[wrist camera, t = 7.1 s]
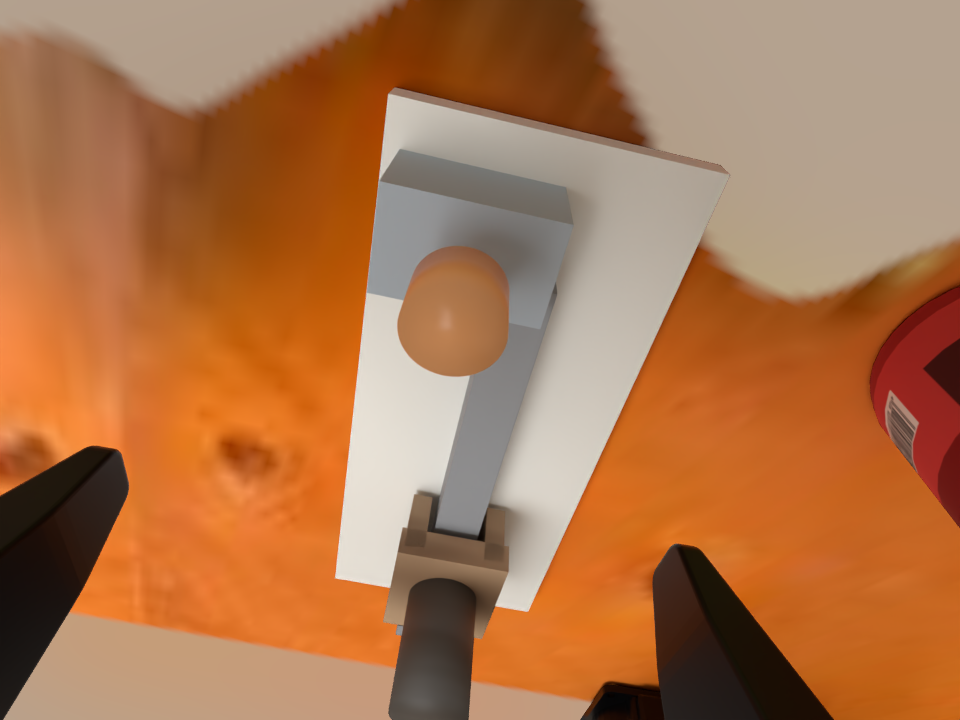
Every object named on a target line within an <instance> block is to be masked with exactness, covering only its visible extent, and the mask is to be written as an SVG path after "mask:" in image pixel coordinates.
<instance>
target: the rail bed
mask: <svg viewBox="0 0 960 720" xmlns="http://www.w3.org/2000/svg"><path fill="white" fill-rule="evenodd" d="M729 177H730V174H729V173H728V172H727V171H726V170H725V169H724V168H723V167H722V166H721V165H718V164H713V163H709V162H705V161H701V160H697V159H693V158H688V157H684V156H680V155H676V154H672V153H667V152H663V151H659V150H655V149H651V148H647V147H643V146H638V145H634V144H630V143H626V142H622V141H617V140H613V139H609V138H605V137H601V136H597V135H592V134H588V133H584V132H580V131H576V130H571V129H567V128H563V127H559V126H555V125H551V124H546V123H542V122H538V121H534V120H530V119H525V118H521V117H517V116H513V115H509V114H505V113H500V112H496V111H492V110H488V109H484V108H480V107H475V106H471V105H467V104H463V103H459V102H454V101H450V100H446V99H442V98H438V97H434V96H429V95H425V94H421V93H417V92H413V91H408V90H404V89H400V88H396V87H394V88H393V89H392V90H391V92H390V93H389V94H388V101H387V110H386V120H385V129H384V138H383V147H382V156H381V165H380V174H379V183H378V193H377V202H376V211H375V220H374V229H373V238H372V247H371V256H370V265H369V275H368V284H367V293H366V302H365V311H364V320H363V329H362V338H361V348H360V357H359V366H358V375H357V384H356V393H355V402H354V411H353V420H352V430H351V439H350V448H349V457H348V466H347V475H346V484H345V493H344V503H343V512H342V521H341V530H340V539H339V548H338V557H337V566H336V575H335V578H337V579H343V580H348V581H354V582H360V583H366V584H371V585H377V586H383V587H389V588H390V586H391V581H392V576H393V572H394V567H395V562H396V557H397V552H398V547H399V543H400V538H401V533H402V528H403V527H405V528H407V526H408V521H409V516H410V512H411V507H412V502H413V498H414V494H417V495H422V496H428V497H433V498H432V504H431V511H430V517H429V523H428V529H427V532H432V533H438V534H443V535H449V536H454V537H460V538H465V539H471V540H477V537H478V534H479V531H480V528H481V525H482V522H483V519H484V516H485V513H486V510H487V508H492V509H497V510H502V511H505V537H504V546H509V573H508V575H507V578H506V580H505V582H504V585H503V587H502V590H501V592H500V595H499V597H498V600H497V602H496V605H495V606H498V607H503V608H509V609H515V610H521V611H526V612H528V611H529V608H530V606H531V604H532V602H533V600H534V598H535V595H536V593H537V591H538V589H539V587H540V585H541V582H542V580H543V578H544V576H545V574H546V572H547V570H548V567H549V565H550V563H551V561H552V559H553V557H554V554H555V552H556V550H557V548H558V546H559V544H560V542H561V539H562V537H563V535H564V533H565V531H566V529H567V526H568V524H569V522H570V520H571V518H572V516H573V513H574V511H575V509H576V507H577V505H578V503H579V501H580V498H581V496H582V494H583V492H584V490H585V488H586V485H587V483H588V481H589V479H590V477H591V475H592V473H593V470H594V468H595V466H596V464H597V462H598V460H599V457H600V455H601V453H602V451H603V449H604V447H605V444H606V442H607V440H608V438H609V436H610V434H611V432H612V429H613V427H614V425H615V423H616V421H617V419H618V416H619V414H620V412H621V410H622V408H623V406H624V403H625V401H626V399H627V397H628V395H629V393H630V391H631V388H632V386H633V384H634V382H635V380H636V378H637V375H638V373H639V371H640V369H641V367H642V365H643V363H644V360H645V358H646V356H647V354H648V352H649V350H650V347H651V345H652V343H653V341H654V339H655V337H656V334H657V332H658V330H659V328H660V326H661V324H662V322H663V319H664V317H665V315H666V313H667V311H668V309H669V306H670V304H671V302H672V300H673V298H674V296H675V294H676V291H677V289H678V287H679V285H680V283H681V281H682V278H683V276H684V274H685V272H686V270H687V268H688V265H689V263H690V261H691V259H692V257H693V255H694V253H695V250H696V248H697V246H698V244H699V242H700V240H701V237H702V235H703V233H704V231H705V229H706V227H707V225H708V222H709V220H710V218H711V216H712V214H713V212H714V209H715V207H716V205H717V203H718V200H719V199H720V196H721V194H722V192H723V190H724V188H725V186H726V183H727V181H728V179H729ZM449 246H466V247H471V248H475V249H477V250H480V251H482V252H484V253H486V254H487V255H489V256H490V257H492V258H493V259H494V260H495V261H496V262H497V263H498V264H499V265H500V267H501V268H502V269H503V271H504V273H505V275H506V277H507V280H508V283H509V291H510V294H509V330H508V340H507V344H506V347H505V349H504V351H503V353H502V355H501V356H500V357H499V359H498V360H497V361H496V362H495V363H494V364H493V365H491V366H490V367H489V368H487V369H485V370H483V371H481V372H479V373H476V374H473V375H469V376H461V377H450V376H443V375H439V374H436V373H433V372H430V371H428V370H426V369H424V368H423V367H421V366H420V365H418V364H417V363H416V362H414V361H413V360H412V359H411V358H410V357H409V356H408V354H407V353H406V352H405V350H404V348H403V347H402V345H401V342H400V340H399V336H398V331H397V321H398V316H399V313H400V310H401V307H402V304H403V301H404V298H405V295H406V292H407V289H408V286H409V283H410V280H411V278H412V275H413V272H414V270H415V268H416V267H417V265H418V264H419V263H420V261H421V260H422V259H423V258H425V257H426V256H427V255H428V254H430V253H432V252H434V251H435V250H438V249H441V248H444V247H449ZM402 631H403V625H397V630H396V635H401V636H402Z"/></svg>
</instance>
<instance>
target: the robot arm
mask: <svg viewBox="0 0 960 720" xmlns="http://www.w3.org/2000/svg"><path fill="white" fill-rule="evenodd" d="M128 490H129V482H128V478H127V474H126V470H125V466H124V462H123V458H122V454H121V453H120V452H119V451H118V450H117V449H112V448H107V447H101V446H89V447H86V448H84V449H82V450H80V451H79V452H77V453H75V454H73V455H72V456H70V457H68V458H66V459H64V460H63V461H61V462H59V463H57V464H56V465H54V466H52V467H50V468H49V469H47V470H45V471H43V472H41V473H40V474H38V475H36V476H34V477H33V478H31V479H29V480H27V481H26V482H24V483H22V484H20V485H18V486H17V487H15V488H13V489H11V490H10V491H8V492H6V493H4V494H2V495H1V496H0V720H3V719H4V717H5V716H6V714H7V712H8V711H9V709H10V708H11V706H12V704H13V703H14V701H15V700H16V698H17V696H18V695H19V693H20V691H21V690H22V688H23V687H24V685H25V683H26V681H27V680H28V678H29V677H30V675H31V673H32V672H33V670H34V668H35V667H36V665H37V663H38V662H39V660H40V659H41V657H42V656H43V654H44V652H45V651H46V649H47V647H48V646H49V644H50V642H51V641H52V639H53V637H54V636H55V634H56V633H57V631H58V629H59V628H60V626H61V625H62V623H63V621H64V620H65V618H66V616H67V615H68V613H69V612H70V610H71V608H72V607H73V605H74V603H75V602H76V600H77V598H78V596H79V595H80V593H81V591H82V590H83V588H84V586H85V584H86V582H87V580H88V578H89V576H90V574H91V572H92V570H93V567H94V565H95V563H96V561H97V559H98V557H99V555H100V553H101V551H102V549H103V546H104V544H105V542H106V540H107V538H108V536H109V534H110V532H111V530H112V527H113V525H114V523H115V521H116V519H117V517H118V515H119V513H120V511H121V509H122V506H123V504H124V502H125V500H126V498H127V495H128ZM653 602H654V620H655V638H656V656H657V669H658V679H659V686H660V693H658V692H652V691H646V690H640V689H634V688H628V687H622V686H616V685H606V686H604V687H603V688H602V689H601V690H600V692H599V693H598V695H597V696H596V698H595V699H594V700H593V702H592V703H591V705H590V706H589V708H588V709H587V711H586V712H585V713H584V715H583V716H582V718H581V720H834V719H833V718H832V717H831V715H830V714H829V713H828V711H827V710H826V709H825V708H824V706H823V705H822V704H821V703H820V701H819V700H818V699H817V697H816V696H815V695H814V694H813V692H812V691H811V690H810V689H809V687H808V686H807V685H806V683H805V682H804V681H803V680H802V678H801V677H800V676H799V674H798V673H797V672H796V671H795V669H794V668H793V667H792V666H791V664H790V663H789V662H788V660H787V659H786V658H785V657H784V655H783V654H782V653H781V652H780V650H779V649H778V648H777V646H776V645H775V644H774V643H773V641H772V640H771V639H770V637H769V636H768V635H767V634H766V632H765V631H764V630H763V629H762V627H761V626H760V625H759V623H758V622H757V621H756V620H755V618H754V617H753V616H752V615H751V613H750V612H749V611H748V609H747V608H746V607H745V606H744V604H743V603H742V602H741V600H740V599H739V598H738V597H737V595H736V594H735V593H734V592H733V590H732V589H731V588H730V586H729V585H728V584H727V583H726V581H725V580H724V579H723V578H722V576H721V575H720V574H719V572H718V571H717V570H716V569H715V567H714V566H713V565H712V563H711V562H710V561H709V560H708V558H707V557H706V556H705V555H704V553H703V552H702V551H701V550H700V549H699V548H697V547H694V546H689V545H683V544H674V545H672V546H671V547H670V548H669V550H668V551H667V553H666V554H665V556H664V557H663V559H662V560H661V562H660V563H659V565H658V566H657V568H656V570H655V572H654V575H653Z"/></svg>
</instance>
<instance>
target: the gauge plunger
mask: <svg viewBox="0 0 960 720" xmlns="http://www.w3.org/2000/svg"><path fill="white" fill-rule="evenodd" d="M509 294H510V291H509V283H508V280H507V277H506V275H505V273H504V271H503V269H502V268H501V267H500V265H499V264H498V263H497V262H496V261H495V260H494V259H493V258H492V257H490V256H489V255H487V254H486V253H484V252H482V251H480V250H477V249H475V248H471V247H466V246H449V247H444V248H441V249H438V250H435V251H434V252H432V253H430V254H428V255H427V256H426V257H425V258H423V259H422V260H421V261H420V263H419V264H418V265H417V267H416V268H415V270H414V272H413V275H412V278H411V280H410V283H409V286H408V289H407V292H406V295H405V298H404V301H403V304H402V307H401V310H400V313H399V316H398V321H397V331H398V336H399V340H400V342H401V345H402V347H403V348H404V350H405V352H406V353H407V354H408V356H409V357H410V358H411V359H412V360H413V361H414V362H416V363H417V364H418V365H420V366H421V367H423V368H424V369H426V370H428V371H430V372H433V373H436V374H439V375H443V376H450V377H461V376H469V375H473V374H476V373H479V372H481V371H483V370H485V369H487V368H489V367H490V366H491V365H493V364H494V363H495V362H496V361H497V360H498V359H499V357H500V356H501V355H502V353H503V351H504V349H505V347H506V344H507V340H508V330H509Z"/></svg>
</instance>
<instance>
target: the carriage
mask: <svg viewBox="0 0 960 720" xmlns="http://www.w3.org/2000/svg"><path fill="white" fill-rule="evenodd" d="M432 498H433V497H428V496H422V495H417V494H414V498H413V502H412V507H411V512H410V516H409V521H408V526H407V528H405V527H403V528H402V533H401V538H400V543H399V547H398V552H397V557H396V562H395V567H394V572H393V576H392V581H391V586H390V591H389V596H388V601H387V606H386V610H385V615H384V620H383V622H385V623H391V624H397V625H403V631H402V636H401V642H400V648H399V654H398V659H397V665H396V671H395V677H394V682H393V688H392V694H391V699H390V705H389V716H390V718H391V719H392V720H468V718H469V704H470V689H471V674H472V659H473V644H474V638H480V639H482V637H483V635H484V632H485V630H486V627H487V625H488V622H489V620H490V617H491V615H492V612H493V610H494V607H495V605H496V602H497V600H498V597H499V595H500V592H501V590H502V587H503V585H504V582H505V580H506V578H507V575H508V573H509V546H504V537H505V511H502V510H497V509H492V508H487V510H486V513H485V516H484V519H483V522H482V525H481V528H480V531H479V534H478V537H477V540H471V539H465V538H460V537H454V536H449V535H443V534H438V533H432V532H427V529H428V523H429V517H430V511H431V504H432Z"/></svg>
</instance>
